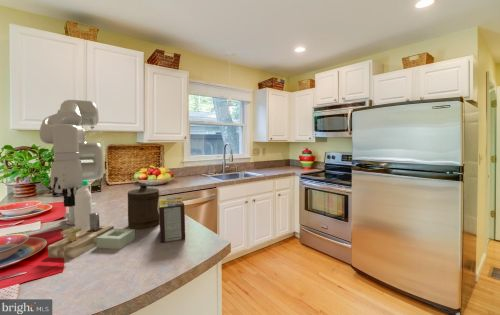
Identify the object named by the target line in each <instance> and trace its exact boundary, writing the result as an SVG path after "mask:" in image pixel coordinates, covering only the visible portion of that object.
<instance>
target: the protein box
mask: <svg viewBox="0 0 500 315" xmlns="http://www.w3.org/2000/svg"><path fill="white" fill-rule="evenodd" d="M159 220H160V225H159V232H160V233H159V234H160V236H159V238H160V239H159V240H160V241H159V242H160V244H162V243H163V244H164V243H170V242H176V241H185V240H186V212H185V203H184V201H183V198H182V197H172V198H170V197H169V198H159Z"/></svg>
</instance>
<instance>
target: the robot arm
mask: <svg viewBox="0 0 500 315" xmlns="http://www.w3.org/2000/svg"><path fill="white" fill-rule="evenodd" d="M97 124H99V109H98V106H97V104H96V103H95V102H94V101H92V100H79V99H67V100H64V101H62V103H61V104H60V107H59V109H58V110H57V111H56V113H55V114H51V115H48V116H46V117H45V118H43V120H42V122H41V125H40V128H39V138H40V140H41V142H43V143H44V144H47V145H52V146H53V160H54V161H53V162H52V163H51V169H50V188H51V189H52V190H54V193H55V194H60V195H61V196H62V197H63V206H64V208H65V207H66V208H67V207H68V212H66V213H65V214H64V215H63V218H67V219H66V220H65V224H66V225H69V226H70V225H71V226H73V225H74V226H75V216H74V206H75V195H76V191H77V190H78V189H80V188H81V185H82V184H83V180H87V181H91V180H101V179H102V178H103V177H104V175H105V169H104V167H105V166H104V153H103V147H102V144H100V142H95V141H94V142H93V141H90V142H89V141H87V138H86V133H87V132H86V130H85V129H84V128H83V127H82V126H89V127H90V126H97ZM88 160H89V161H90V162H86V161H88ZM91 160H92V161H93V162H91ZM81 161H83V162H81ZM87 188H88V190H89V192H90V186H89V185H88V186H87ZM90 193H91V192H90Z"/></svg>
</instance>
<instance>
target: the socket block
mask: <svg viewBox="0 0 500 315" xmlns="http://www.w3.org/2000/svg"><path fill="white" fill-rule="evenodd" d="M112 229H115V227H114V225H100V230H99V231H97V232H90V227H89V228H86V229H84V230H82V231H80V232H78V233H76V241H75V242H73V243H67V237H65V238H63V239H61V240H58V241H56V242H54V243H52V244H49V245H48V246H47V255H48V258H60V259H75V258H76V257H78V256H80V255H82V254H84V253H85V252H87V251H89V250H91V249H92V248H94V247H95V246H96V247H97V240H96V238H97V237H99V236H101V235H103V234H104V233H106V232H108V231H110V230H112Z"/></svg>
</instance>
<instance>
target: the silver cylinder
mask: <svg viewBox="0 0 500 315" xmlns="http://www.w3.org/2000/svg"><path fill="white" fill-rule="evenodd" d="M89 218H90V232H97V231H99V230H100V226H101V225H100V213H99V212H92V213H91V214H89Z"/></svg>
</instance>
